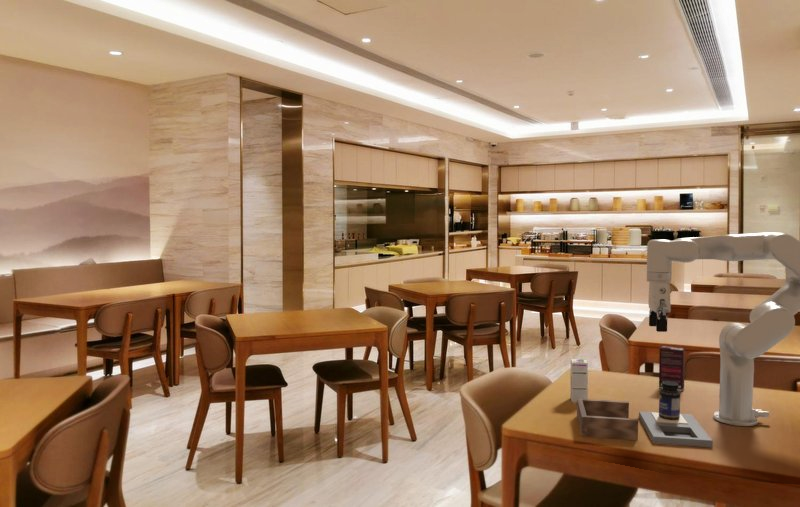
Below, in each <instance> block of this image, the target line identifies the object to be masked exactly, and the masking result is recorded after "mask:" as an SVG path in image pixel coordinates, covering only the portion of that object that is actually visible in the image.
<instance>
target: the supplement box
mask: <svg viewBox="0 0 800 507" xmlns="http://www.w3.org/2000/svg"><path fill="white" fill-rule="evenodd" d="M685 350H686V348H685V347H675V346H665V345H662V346H660V347H659V358H658V359H659V360H658V361H659V362H658V364H659V367H658V373H659V374H658V388H659V389H660V388H661V389H663V387H662V382H664V381H670V382H675V383H678V389H677V391H679V392H683V391H684V390H685V369H686V368H685V364H686V362H685V361H686V360H685V357H686V356H685V354H686V351H685ZM661 389H660V390H661Z"/></svg>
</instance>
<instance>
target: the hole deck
mask: <svg viewBox="0 0 800 507" xmlns="http://www.w3.org/2000/svg"><path fill="white" fill-rule="evenodd" d="M638 418H639V420H640V422H641V423H642V425H643V427H644V429H645V431H646V432H648V433H647V435H648V434H649V435H648V436H649V439H650V440H651V442H652V444H659V445H673V446H687V447H701V448H702V447H703V448H713V447H714V445H713V443H714V442H713V441H714V440H713V439H712V437H711V436H710V435H709V434H708V433H707V431H706V430H705V429H704V428H703V427H702V426H701V424H700V423H699V421H697V419H696V418H695V417H694V415H693V414H691V413H680V418H679V419H677V420H668V419H663V418H661V417H660V416H659V411H658V412H657V411H647V410H646V411H645V410H643V411H642V410H639V411H638Z"/></svg>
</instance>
